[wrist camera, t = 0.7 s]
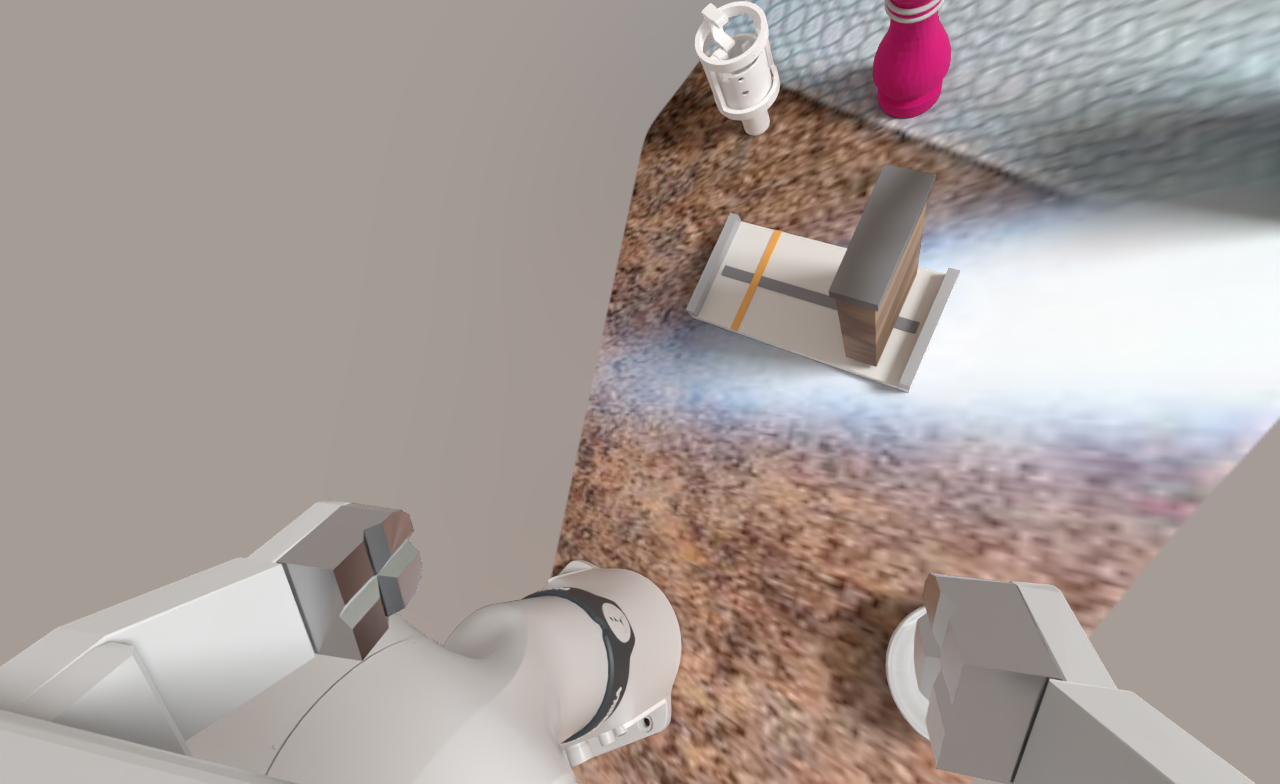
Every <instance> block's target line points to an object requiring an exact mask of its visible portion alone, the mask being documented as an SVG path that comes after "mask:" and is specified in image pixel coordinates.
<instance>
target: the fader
mask: <svg viewBox="0 0 1280 784" xmlns="http://www.w3.org/2000/svg"><path fill="white" fill-rule="evenodd" d="M935 176H936V174H932V173H927V172H922V171H916V170H911V169H906V168H900V167H895V166H890V165H884V167H883V170H882V172H881V174H880V176H879V179H878V181H877V183H876V185H875V188H874V190H873V192H872V194H871V197H870V199H869V201H868V203H867V206H866V208H865V210H864V212H863V215H862V217H861V219H860V221H859V224H858V226H857V228H856V230H855V232H854V235H853V237H852V239H851V241H850V244H849V246H848V248H847V250H846V253H845V255H844V257H843V259H842V262H841V264H840V266H839V268H838V271H837V273H836V275H835V277H834V280H833V282H832V284H831V286H830V289H829V296H830V297H831V298H834V299H835V300H836V306H837V311H838V317H839V322H840V328H841V333H842V338H843V344H844V349H845V355H846V357H848V358H851V359H854V360H857V361H860V362H863V363H866V364H869V365H872V366H875V367H877V364H878V362H879V360H880V357H881V355H882V353H883V351H884V348H885V346H886V344H887V341H888V339H889V337H890V335H891V332H892V330H893V328H894V325H895V323H896V321H897V318H898V316H899V314H900V312H901V309H902V307H903V305H904V302H905V300H906V298H907V296H908V293H909V291H910V289H911V286H912V284H913V282H914V280H915V277H916V275H917V269H918V262H919V254H920V247H921V240H922V233H923V225H924V218H925V211H926V204H927V199H928V197H929V195H930V192H931V190H932V188H933V186H934V183H935Z"/></svg>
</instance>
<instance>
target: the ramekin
mask: <svg viewBox="0 0 1280 784" xmlns="http://www.w3.org/2000/svg"><path fill="white" fill-rule="evenodd" d="M926 613H927V611H926V608H925V605H924V606H922V607H919V608H917V609H916V610H914V611H913V612H911V613H910V614H909V615H907V616H906V617H905V618H904V619H903V620H902V621H901V622H900V623H899V625H898V626H897V627H896V629H895V631H894V632H893V634H892V636H891V638H890V641H889V644H888V648H887V653H886V676H887V681H888V685H889V689H890V692H891V695H892V697H893V700H894V702H895V704H896V706H897V707H898V709H899V711H900V712H901V714H902V715H903V717H904V718H905V720H906V721H907V722H908V723H909V724H910V725H911V727H912V728H913V729H914V730H915V731H916V732H917V733H918V734H920V735H921V736H922V737H924V738H925V739H926V740H928V741H929V742H930V739H929V734H928V730H927V725H926V721H925V720H926V715H927V711H928V706H929V701H928V700H927V699H926V698H925V697H924V696H923V694H922V693H921V692H920V691H919V689H918V684H917V679H916V674H915V665H914V636H915V630H916V624H917V619H919V618H920V617H922V616H923V615H924V614H926Z"/></svg>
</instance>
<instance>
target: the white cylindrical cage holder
mask: <svg viewBox="0 0 1280 784" xmlns="http://www.w3.org/2000/svg"><path fill="white" fill-rule="evenodd" d="M743 13H746V14H747V15H749V16H752V17H753V20H754V24H755V28H756V35H757V36H756V35H753V34H749V33H741V34H737V35H734V36H731V37H729V36H728V35H727V34H726V33H724V31H723V28H722V26H723V25H724V24H726V23H727V22H728V18H729V17H731V16H735V15H742V14H743ZM702 15H703V18H704V22H703V23H702V24H701V26H700V27H699V29H698V32H697V35H696V38H695V48H696V51H697V54H698V57H699V59H700V62H701V63H702V65H703V68H704V70H705V73H706V76H707V78H708V81H709V84H710V86H711V89H712V92H713V94H714V99H715V102H716V105H717V107H718V109H719V111H720V112H721V114H723V115H724V116H725V117H727V118H729V119H732V120H742V123H743V127H744V130H745V132H746V133H747V134H749V135H759V134H761V133H763V132H764V131H766V129H767V128H768V127H769V124H770V119H769V115H768V112H767V109H768V108H769V107H770V106H771V105H772V104H773V103H774V101H775V99H776V98H777V96H778V93H779V89H780V80H779V75H778V71H777V68H776V67H775V65H774V63H773V58H772V54H771V49H770V45H769V40H768V34H769V31H768V25H767V20H766V16H765V14H764V12H763V10H762V9H761V8H760V7H759V6H757V5H756V4H753V3H751V2H745V1H742V2H741V1H739V2H733V3H729V4H726V5H724V6H722V7H720V8H718V9H717V8H716V7H715V6H714V5H713V4H711V3H710V4H709V5H708V6H707V7H705V8H704V10H703V11H702ZM708 33H709V36H710V39H711V40H712V41H713V42H715V43H716V44H717V45H718V47H717V48H716V51H715V52H714V53H713V55H712V56H711V57H710V58H709V57H707V56H706V55H705V54H704V53H703V44H704V41H705V38H706V36H707V35H708ZM771 75H772V76H773V77H774V81H773V83H772V78H771Z"/></svg>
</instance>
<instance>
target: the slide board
mask: <svg viewBox="0 0 1280 784" xmlns="http://www.w3.org/2000/svg"><path fill="white" fill-rule="evenodd" d="M846 250H847V248H843V247H839V246H835V245H831V244H827V243H823V242H819V241H815V240H811V239H808V238H804V237H800V236H796V235H792V234H788V233H784V232H782V231H778V230H772V229H769V228H765V227H761V226H757V225H753V224H749V223H745V222H741V220H740V217H739V215H737V214H733V213H730V215H729V217H728V219H727V221H726V223H725V226H724V228H723V230H722V232H721V234H720V236H719V239H718V241H717V243H716V245H715V247H714V249H713V252H712V254H711V256H710V258H709V260H708V262H707V265H706V267H705V269H704V271H703V273H702V275H701V278H700V280H699V282H698V284H697V286H696V288H695V291H694V293H693V295H692V297H691V299H690V301H689V304H688V306H687V308H686V311H687V312H688V313H689V314H690V316H691V317H692V318H695V319H698V320H700V321H703V322H706V323H709V324H712V325H715V326H718V327H721V328H724V329H726V330H729V331H732V332H735V333H738V334H741V335H744V336H747V337H749V338H752V339H755V340H758V341H761V342H764V343H767V344H770V345H772V346H775V347H778V348H781V349H784V350H787V351H790V352H793V353H796V354H798V355H801V356H804V357H807V358H810V359H813V360H816V361H819V362H821V363H824V364H827V365H830V366H833V367H836V368H839V369H842V370H845V371H847V372H850V373H853V374H856V375H859V376H862V377H865V378H868V379H870V380H873V381H876V382H879V383H882V384H885V385H888V386H891V387H893V388H896V389H899V390H902V391H905V392H908V393H909V391H910V389H911V386H912V384H913V382H914V379H915V377H916V375H917V373H918V370H919V368H920V366H921V363H922V361H923V359H924V356H925V354H926V352H927V349H928V347H929V345H930V342H931V340H932V338H933V335H934V333H935V331H936V329H937V326H938V324H939V322H940V319H941V317H942V315H943V312H944V310H945V308H946V305H947V303H948V301H949V298H950V296H951V294H952V291H953V289H954V287H955V285H956V282H957V279H958V276H959V273H960V270H956V269H952V268H948V271H947V273H946V274H944V273H940V272H936V271H932V270H929V269H925V268H921V267H918V269H917V275H916V277H915V280H914V282H913V284H912V286H911V289H910V291H909V293H908V296H907V298H906V300H905V302H904V305H903V307H902V309H901V312H900V314H899V316H898V318H897V321H896V323H895V325H894V328H893V330H892V332H891V335H890V337H889V339H888V341H887V344H886V346H885V348H884V351H883V353H882V355H881V357H880V360H879V362H878V364H877V367H875V366H872V365H869V364H866V363H863V362H860V361H857V360H854V359H851V358H848V357H846V355H845V349H844V344H843V338H842V333H841V328H840V322H839V317H838V311H837V306H836V300H835V299H834V298H831V297H830V296H829V289H830V286H831V284H832V282H833V280H834V277H835V275H836V273H837V271H838V268H839V266H840V264H841V262H842V259H843V257H844V255H845V253H846Z"/></svg>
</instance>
